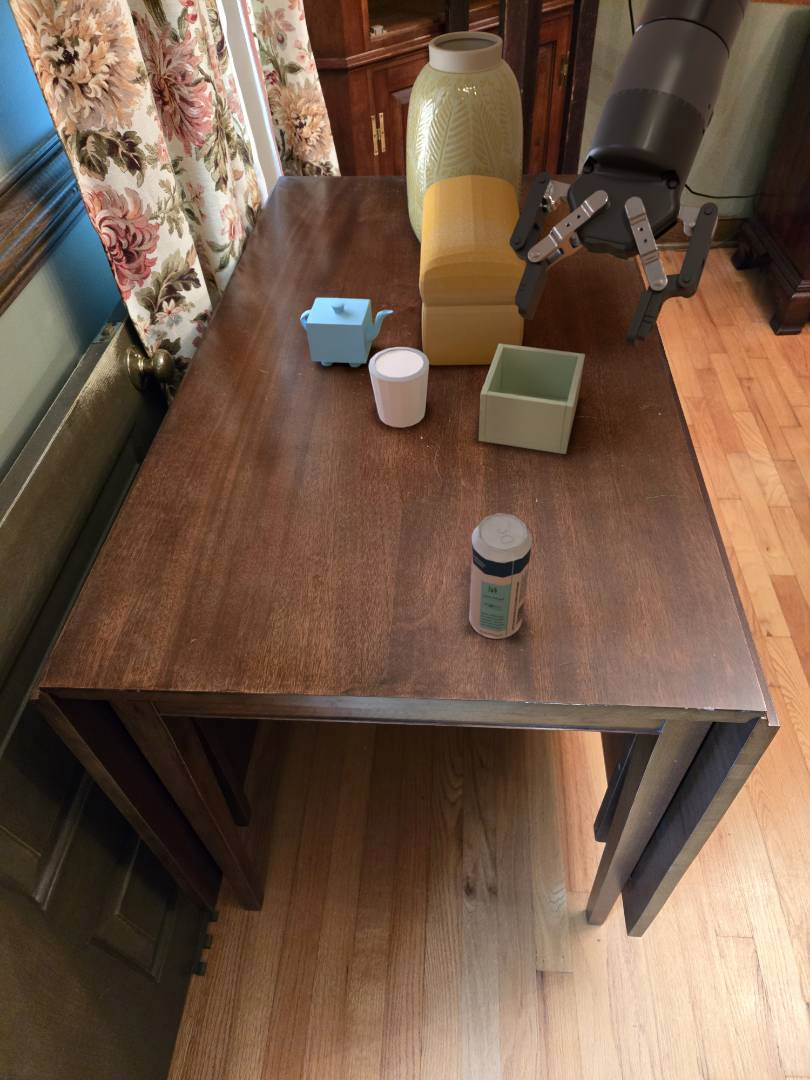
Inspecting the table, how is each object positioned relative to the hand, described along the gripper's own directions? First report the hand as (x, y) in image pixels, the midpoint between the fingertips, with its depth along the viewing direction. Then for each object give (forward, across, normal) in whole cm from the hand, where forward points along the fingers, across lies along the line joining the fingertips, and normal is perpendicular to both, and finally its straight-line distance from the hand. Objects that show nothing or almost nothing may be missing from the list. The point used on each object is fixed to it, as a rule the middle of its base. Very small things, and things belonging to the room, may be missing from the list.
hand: (576, 330), depth 55 cm
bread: (-7, -26, +40) cm, 48 cm away
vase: (-20, -36, +54) cm, 68 cm away
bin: (+5, -9, +28) cm, 30 cm away
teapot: (+4, -35, +29) cm, 46 cm away
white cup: (+9, -23, +24) cm, 35 cm away
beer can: (+25, 0, +8) cm, 26 cm away
